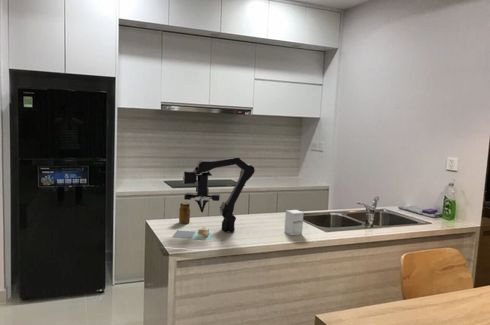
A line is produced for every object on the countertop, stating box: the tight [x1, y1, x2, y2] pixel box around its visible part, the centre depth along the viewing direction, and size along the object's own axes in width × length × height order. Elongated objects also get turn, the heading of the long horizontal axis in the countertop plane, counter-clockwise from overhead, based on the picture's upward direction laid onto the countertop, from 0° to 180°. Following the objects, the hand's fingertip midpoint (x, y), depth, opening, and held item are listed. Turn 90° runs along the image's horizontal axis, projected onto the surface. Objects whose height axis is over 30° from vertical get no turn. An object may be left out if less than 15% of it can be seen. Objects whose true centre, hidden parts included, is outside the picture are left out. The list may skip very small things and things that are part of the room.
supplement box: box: [284, 209, 304, 237], centre depth 217 cm, size 7×7×13 cm
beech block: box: [197, 226, 210, 238], centre depth 203 cm, size 5×5×4 cm
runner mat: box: [171, 229, 215, 241], centre depth 203 cm, size 20×12×1 cm, turn 87°
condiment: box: [176, 202, 193, 225], centre depth 224 cm, size 7×8×12 cm
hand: (202, 212), depth 211 cm, fingers closed
